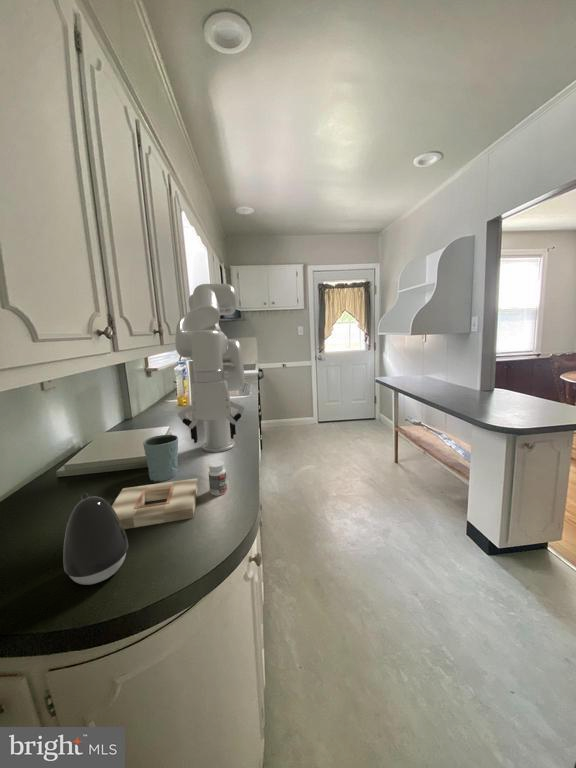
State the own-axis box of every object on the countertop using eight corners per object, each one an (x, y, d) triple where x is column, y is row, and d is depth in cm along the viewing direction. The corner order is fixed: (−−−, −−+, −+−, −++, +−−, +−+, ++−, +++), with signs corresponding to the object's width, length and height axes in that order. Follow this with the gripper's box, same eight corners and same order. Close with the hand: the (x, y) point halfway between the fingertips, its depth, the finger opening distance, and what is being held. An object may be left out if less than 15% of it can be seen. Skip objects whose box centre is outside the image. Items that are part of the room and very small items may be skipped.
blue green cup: (140, 481, 93) (135, 444, 91) (161, 467, 103) (157, 433, 101) (169, 483, 90) (164, 446, 88) (187, 469, 100) (184, 434, 98)
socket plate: (124, 496, 84) (122, 487, 84) (198, 486, 88) (197, 477, 88) (102, 532, 69) (101, 522, 68) (193, 517, 73) (192, 507, 72)
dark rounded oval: (122, 545, 64) (112, 479, 62) (137, 571, 57) (127, 497, 54) (63, 572, 57) (49, 498, 55) (72, 606, 50) (57, 523, 47)
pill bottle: (223, 496, 82) (220, 468, 81) (207, 495, 83) (204, 467, 82) (229, 487, 87) (227, 460, 85) (214, 486, 87) (212, 459, 86)
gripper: (241, 373, 85) (245, 432, 87) (176, 378, 81) (182, 438, 83) (243, 376, 77) (247, 440, 80) (172, 381, 74) (179, 448, 76)
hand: (214, 439), depth 82 cm, fingers open, 9 cm apart
